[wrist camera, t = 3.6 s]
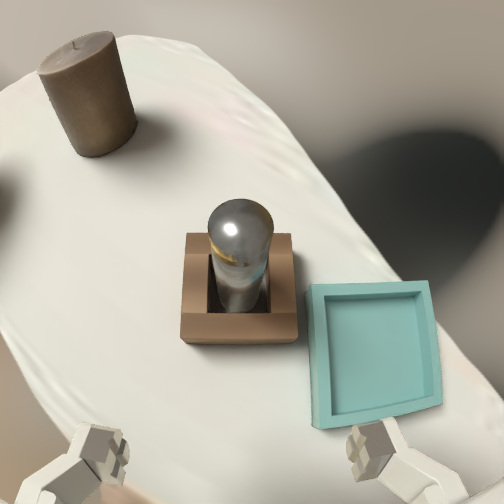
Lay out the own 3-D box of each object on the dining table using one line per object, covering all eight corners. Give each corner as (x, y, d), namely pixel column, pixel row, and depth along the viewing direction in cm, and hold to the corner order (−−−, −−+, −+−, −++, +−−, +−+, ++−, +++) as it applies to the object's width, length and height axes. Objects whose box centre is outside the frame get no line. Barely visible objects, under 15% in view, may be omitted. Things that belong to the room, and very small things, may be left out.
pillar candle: (151, 120, 36) (130, 22, 23) (99, 168, 32) (55, 67, 19) (108, 104, 38) (83, 22, 25) (61, 146, 34) (20, 62, 21)
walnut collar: (291, 343, 25) (298, 337, 23) (186, 343, 25) (180, 337, 22) (285, 248, 29) (290, 233, 26) (191, 248, 29) (186, 232, 26)
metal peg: (258, 313, 26) (275, 256, 15) (218, 313, 26) (206, 255, 15) (257, 275, 28) (272, 199, 17) (219, 275, 28) (209, 198, 17)
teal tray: (428, 403, 23) (442, 403, 21) (311, 425, 22) (319, 429, 20) (415, 288, 28) (427, 280, 26) (304, 293, 27) (311, 284, 25)
